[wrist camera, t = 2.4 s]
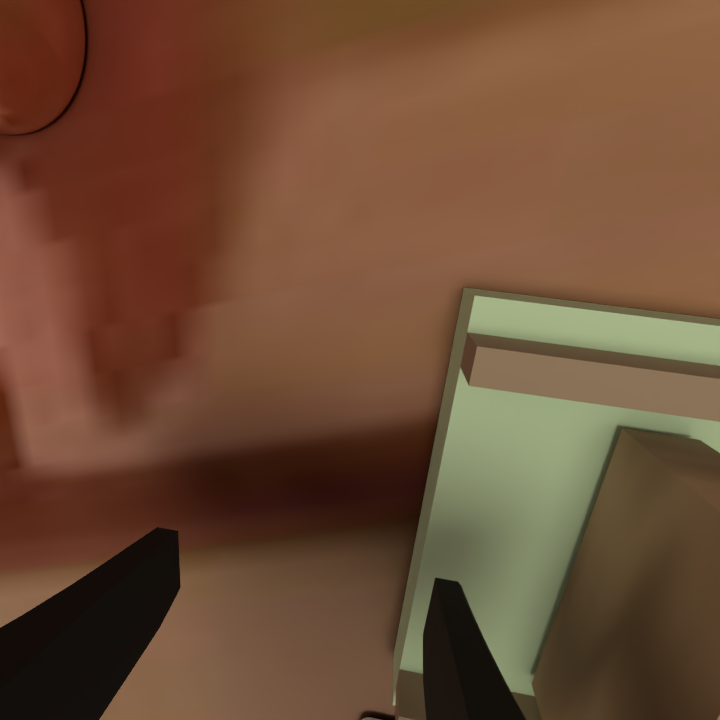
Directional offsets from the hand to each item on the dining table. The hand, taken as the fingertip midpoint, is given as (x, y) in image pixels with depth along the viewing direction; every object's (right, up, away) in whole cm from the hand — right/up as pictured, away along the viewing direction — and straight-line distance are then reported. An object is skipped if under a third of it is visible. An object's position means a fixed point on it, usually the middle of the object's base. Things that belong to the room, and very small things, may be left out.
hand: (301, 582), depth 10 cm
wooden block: (+9, -1, +1) cm, 9 cm away
